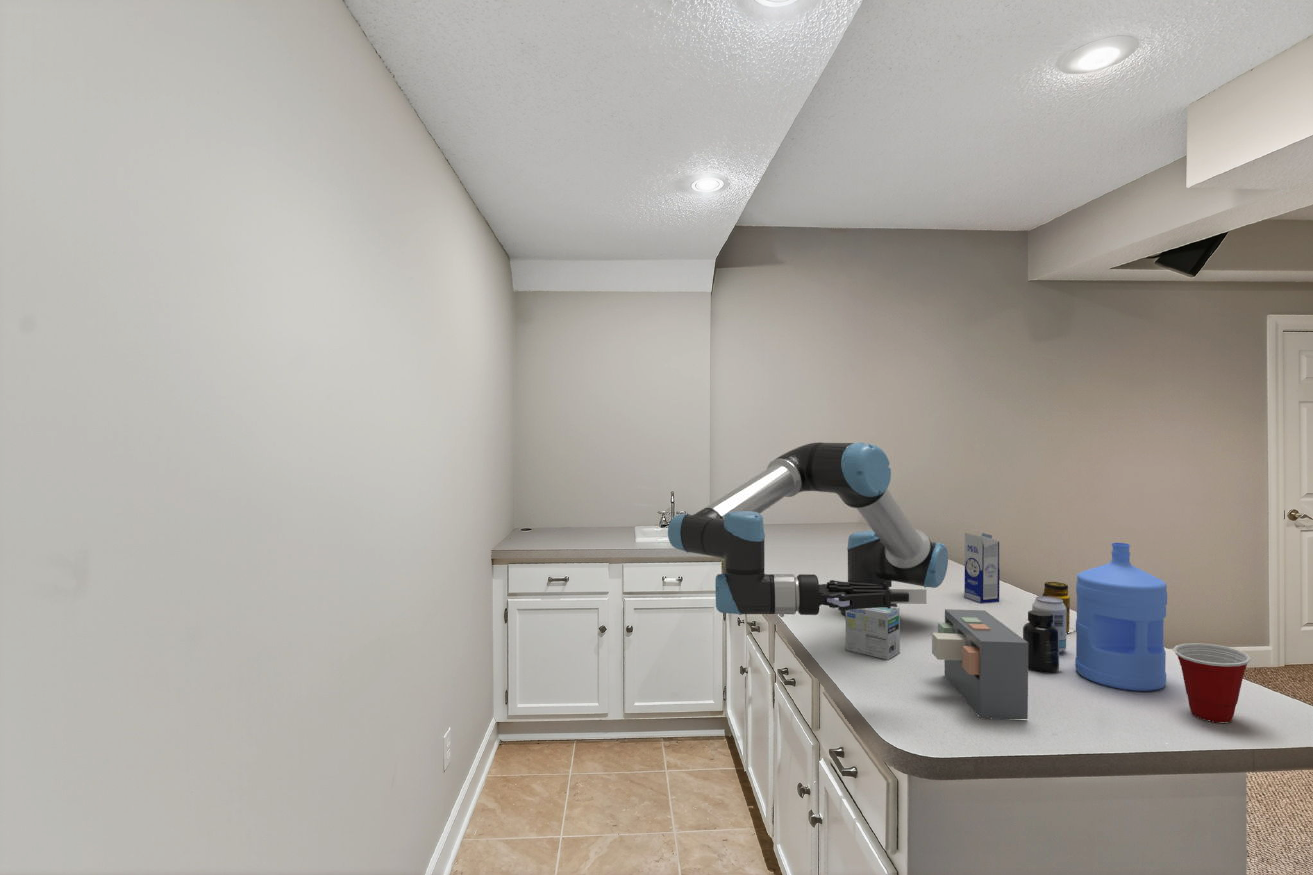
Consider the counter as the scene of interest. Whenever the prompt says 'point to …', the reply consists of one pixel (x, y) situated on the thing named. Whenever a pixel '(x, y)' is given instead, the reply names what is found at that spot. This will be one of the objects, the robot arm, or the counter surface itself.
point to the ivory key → (948, 646)
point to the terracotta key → (971, 659)
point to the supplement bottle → (1042, 642)
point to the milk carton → (982, 568)
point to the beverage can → (1054, 615)
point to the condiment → (1059, 596)
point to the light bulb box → (873, 631)
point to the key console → (991, 666)
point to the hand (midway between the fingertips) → (925, 595)
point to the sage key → (945, 628)
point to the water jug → (1121, 625)
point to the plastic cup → (1212, 678)
